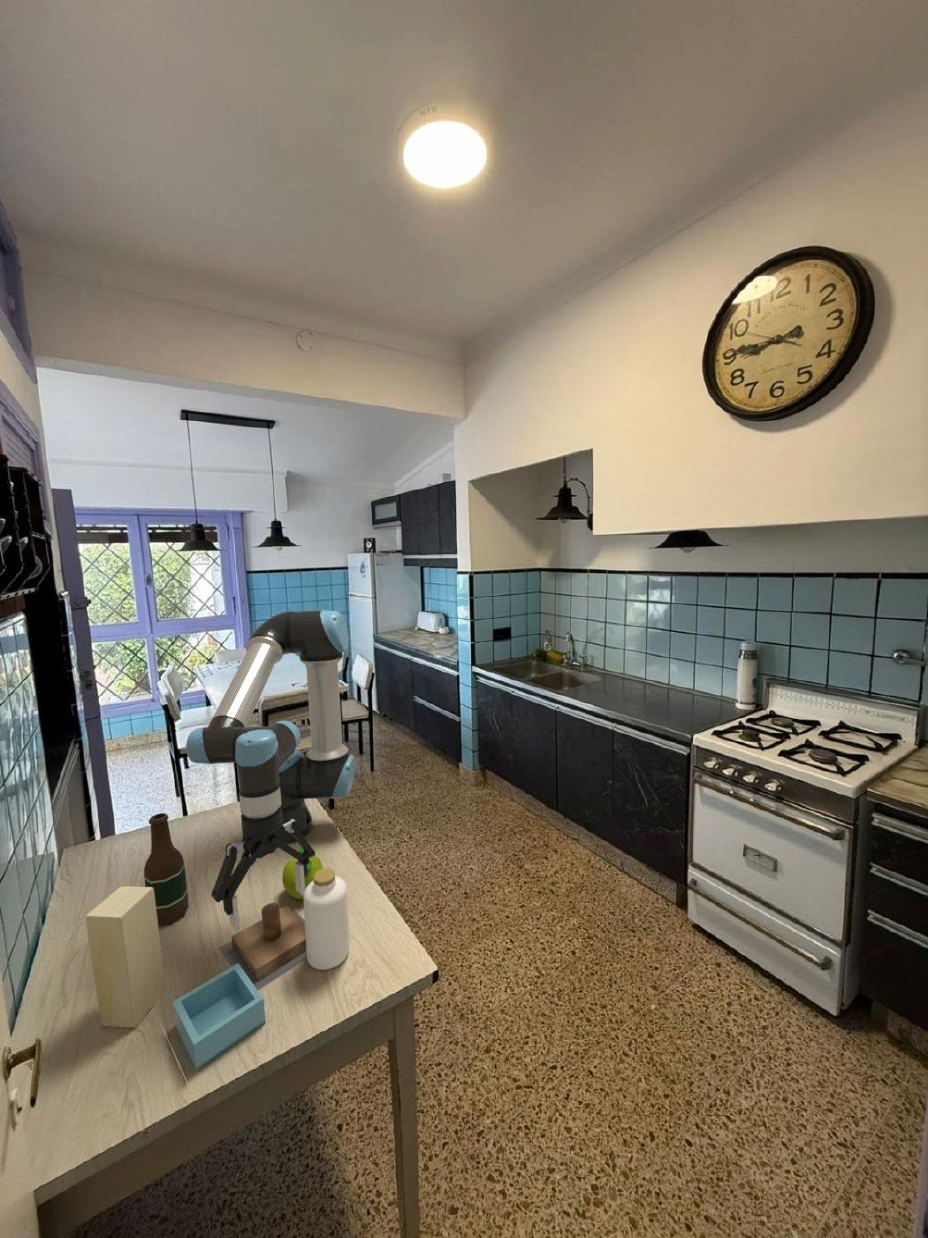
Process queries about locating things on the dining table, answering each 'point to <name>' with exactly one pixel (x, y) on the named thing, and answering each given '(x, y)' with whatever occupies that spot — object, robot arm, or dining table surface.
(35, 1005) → the dining table surface
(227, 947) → the mat
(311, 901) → the potion bottle
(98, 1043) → the dining table surface
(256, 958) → the lid cover
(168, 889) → the beer bottle
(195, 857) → the dining table surface
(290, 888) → the fruit
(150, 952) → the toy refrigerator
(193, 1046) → the dish
